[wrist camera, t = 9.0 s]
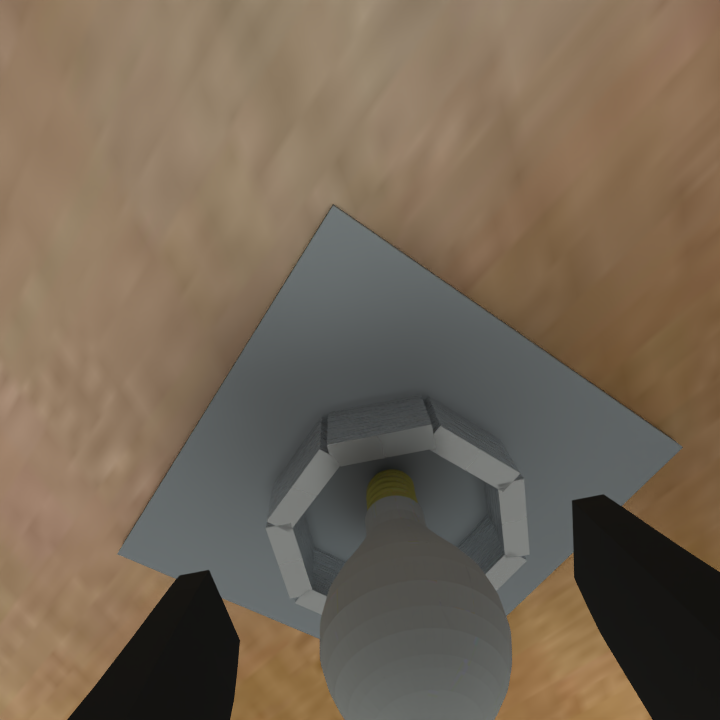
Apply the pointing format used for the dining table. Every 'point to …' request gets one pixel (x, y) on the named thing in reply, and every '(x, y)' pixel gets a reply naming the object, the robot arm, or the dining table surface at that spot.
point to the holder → (385, 437)
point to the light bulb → (412, 621)
